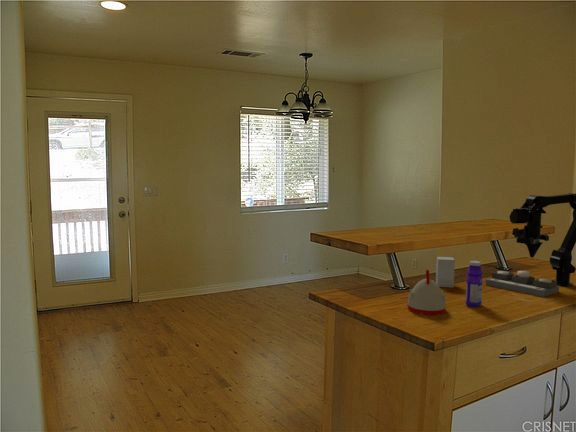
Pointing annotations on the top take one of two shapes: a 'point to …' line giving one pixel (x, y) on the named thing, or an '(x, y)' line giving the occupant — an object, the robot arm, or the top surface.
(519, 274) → the button mid
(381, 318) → the top surface
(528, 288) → the button board
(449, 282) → the supplement box
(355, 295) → the top surface
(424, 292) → the grey dome
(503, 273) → the button
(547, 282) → the button end
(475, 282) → the bottle
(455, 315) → the top surface
